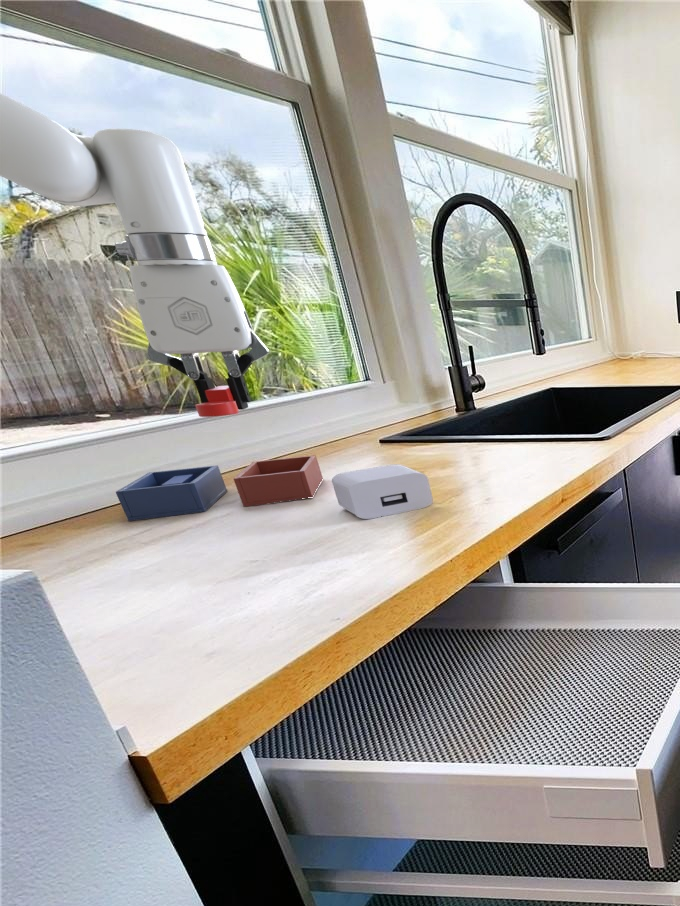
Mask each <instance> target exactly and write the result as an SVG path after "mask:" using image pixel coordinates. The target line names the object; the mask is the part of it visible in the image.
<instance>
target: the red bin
mask: <svg viewBox="0 0 680 906" xmlns="http://www.w3.org/2000/svg"><path fill="white" fill-rule="evenodd" d="M322 479H323V480H324V477H323V474H322V471H321V468H320V465H319V461H318V458H317V455H315V454H314V455H305V456H295V457H285V458H276V459H267V460H256V461H252V462H251V463H249V464H248V465H247V466H246V467H245V468H244V469H242V470H241V472H239V473H238V474H237V475H236V476H234V477H233V482H234V485H235V487H236V490H237V493H238V495H239V498H240V501H241V504H242V507H243V508H245V507H244V506H247V507H253V506H252V505H255V506H261V505H260V504H263V505H268V504H267V503H271V504H275V503H274V502H279V503H281V502H280V501H287V502H290V501H289V500H295V499H302V498H308V497H313V495H314V493H315V491H316V489H317V488H318V486H319V484H320V482H321V481H322ZM318 489H319V488H318ZM314 496H315V495H314ZM313 498H314V497H313ZM295 501H296V500H295Z"/></svg>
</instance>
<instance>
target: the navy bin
mask: <svg viewBox="0 0 680 906" xmlns="http://www.w3.org/2000/svg"><path fill="white" fill-rule="evenodd" d="M191 474H193V475H194V478H195V480H193V481H192V482H190V483H183V484H174V485H165V486H161V485H162V484H164V483H165V482H167V481H168V480H170V479H171V478H173V477H174V476H182V475H191ZM227 492H228V489H227V486H226V483H225V480H224V478H223V475H222V473H221V470H220V467H219V465H218V464H217V465H208V466H199V467H198V466H197V467H189V468H188V467H187V468H179V469H169V470H161V471H160V470H159V471H152V472H151V471H150V472H147V473H145V474H143V475H142V476H140V477H139V478H137V479H135V480H134V481H132V482H130V483H128V484H127V485H125V486H123V487H121V488H119V489H118V490H116V491H115V494H116V497H117V499H118V501H119V504H120V506H121V508H122V510H123V512H124V515H125V517H126V519H127V522H134V521H143V520H151V519H157V518H158V519H159V518H165V517H175V516H181V515H190V514H191V515H192V514H198V513H205V512H207V511H208V510H210V508H211V507H212V506H213V505H214V504H215V503H216V502H217V501H218V500H220V499H221V498H222V497H223V496H224V495H225V494H226V493H227ZM221 496H222V497H221ZM220 497H221V498H220ZM219 498H220V499H219Z"/></svg>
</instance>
